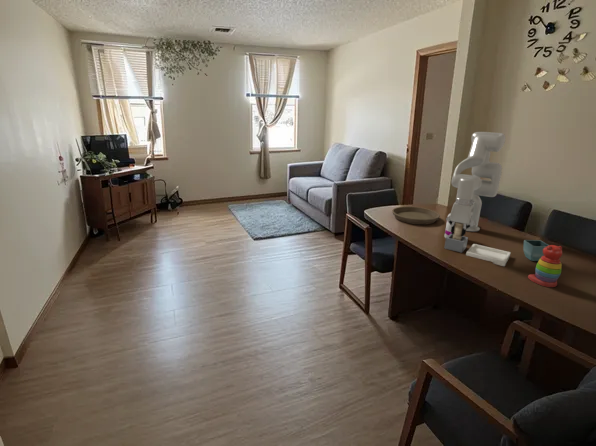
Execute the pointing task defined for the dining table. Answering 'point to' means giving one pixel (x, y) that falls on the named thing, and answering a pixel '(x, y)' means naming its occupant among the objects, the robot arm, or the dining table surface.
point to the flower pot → (534, 249)
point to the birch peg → (458, 231)
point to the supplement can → (448, 229)
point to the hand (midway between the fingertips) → (457, 234)
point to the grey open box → (456, 243)
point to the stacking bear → (548, 267)
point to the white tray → (489, 254)
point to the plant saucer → (415, 215)
